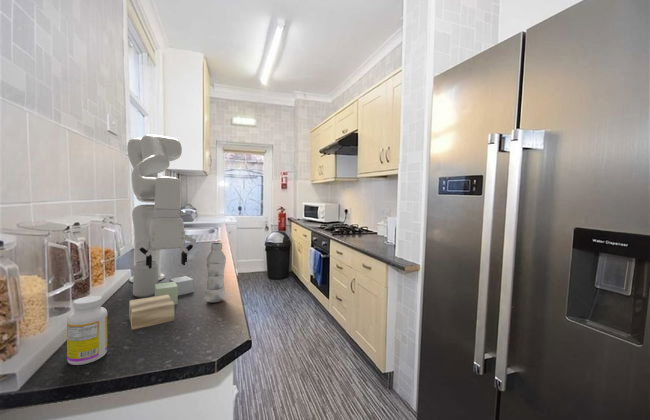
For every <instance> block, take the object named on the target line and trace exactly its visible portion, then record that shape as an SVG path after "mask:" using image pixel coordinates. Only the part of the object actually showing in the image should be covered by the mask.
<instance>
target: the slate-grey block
mask: <svg viewBox="0 0 650 420" xmlns="http://www.w3.org/2000/svg"><path fill="white" fill-rule="evenodd" d="M168 281H169V282H175V283H176V284H177V286H178V296H183V295H186V294H187V295H188V294H190V293H194V279H193V278H191V277H189V276H188V275H187V276H186V275H184V276H178V277H174V278H169V279H168Z"/></svg>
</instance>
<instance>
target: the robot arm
mask: <svg viewBox="0 0 650 420" xmlns="http://www.w3.org/2000/svg"><path fill="white" fill-rule="evenodd" d="M182 149H183V148H182V144H181V141H179V140H178V139H177V138H175V137H170V136H164V135H159V134H146V135H144V136H142V137H136V138H131V139H129V140H128V142H127V146H126V150H127V156H128V160H129V162H130V164H131V166H132V168H133V169H132V172H131V184H132V190H133V194H134V195H135V197H136V199H137V201H139V202H141V203H149V204H139V205H137V206H134V208H133V209H132V213H131V214H132V215H131V217H132V222H133V230H134V231H133V233H134V235H133V236H134V244H133V245H134V249H133V253H134V255H133V263H134V264H133V267H134V266H135V265H136V262H138V261H144V260H146V266H148V267H149V269H151V268H152V260H154V261H156V264H158V282H159V281H161V280H163V279H164V278H165V276H166V275H165V274H164V273H162V272H161V269H162V268H161V267H162V263H161V261H162V258H161V257H162V250H171V249H172V250H173V249H180V250H181V253H180V256H181V257H180V260H181V262H180V263H181V265H182V266H186V263H188V253H189V252H190V251H191V250H192V249H193V247H194V246H195V243H196V242H197V239H195V238H193V237H191V236H188V235H186V234H185V226H184V225H185V224H184V219H183V218H182V216H186V211H185V210H182V206H181V205H182V204H181V203H182V201H181V200H182V181H181V179H180V178H178V177H174V176H158V175H159V174H160V173H162V172H163V173H164V172H165V171H166V170H167V169H168V168H169V167H170V162H172V161H176V160H178V159H180V157H181V156H182V152H183V150H182ZM151 203H154V204H151ZM186 241H189V244H188V245H187V246H186V245H185V244H186ZM129 282H130V283H133V275H132V276H130V277H129Z"/></svg>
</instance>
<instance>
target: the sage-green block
mask: <svg viewBox="0 0 650 420" xmlns="http://www.w3.org/2000/svg"><path fill="white" fill-rule="evenodd" d="M161 295H169V296H170V298H171V300H172V301H173V303H174V304H175V305H178V298H179V297H178V296H179V295H178V286H177V284H176V283H175V282H162V283H158V284H155V294H154V297H155V296H161Z"/></svg>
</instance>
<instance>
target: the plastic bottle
mask: <svg viewBox="0 0 650 420" xmlns="http://www.w3.org/2000/svg"><path fill="white" fill-rule="evenodd" d="M205 261H206V262H205V263H206V269H207V271H206V273H207V282H206V288H205V294H204V297H205V300H206V301H207V302H208V303H214V304H215V303H220V302H222V301H224V299H225V297H226V289H225V279H224V278H225V269H226V262H227V258H226V255H225V254H224V252H223V243H222V242H213V243H210V252H209V253H208V255H207V256H206V259H205Z"/></svg>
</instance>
